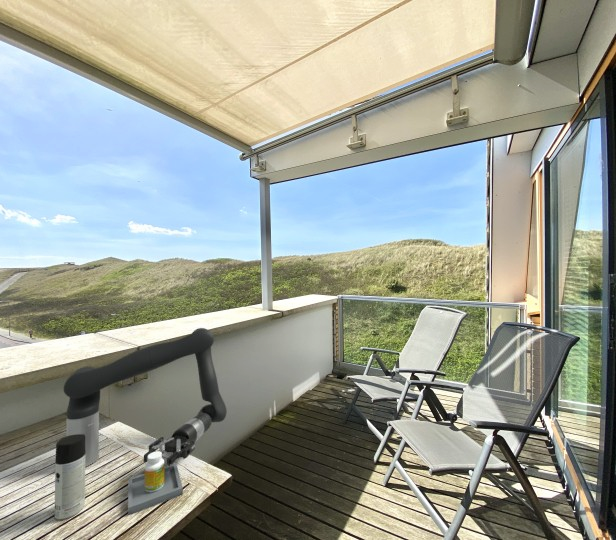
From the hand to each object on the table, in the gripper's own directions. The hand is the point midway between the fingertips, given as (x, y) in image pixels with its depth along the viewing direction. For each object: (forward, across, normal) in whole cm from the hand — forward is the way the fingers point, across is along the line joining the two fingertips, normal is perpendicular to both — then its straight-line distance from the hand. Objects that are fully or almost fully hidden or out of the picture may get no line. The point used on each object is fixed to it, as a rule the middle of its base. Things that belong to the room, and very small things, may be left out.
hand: (155, 461), depth 90 cm
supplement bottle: (0, 0, +8) cm, 8 cm away
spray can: (+13, -18, +9) cm, 23 cm away
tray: (0, 0, +8) cm, 9 cm away
